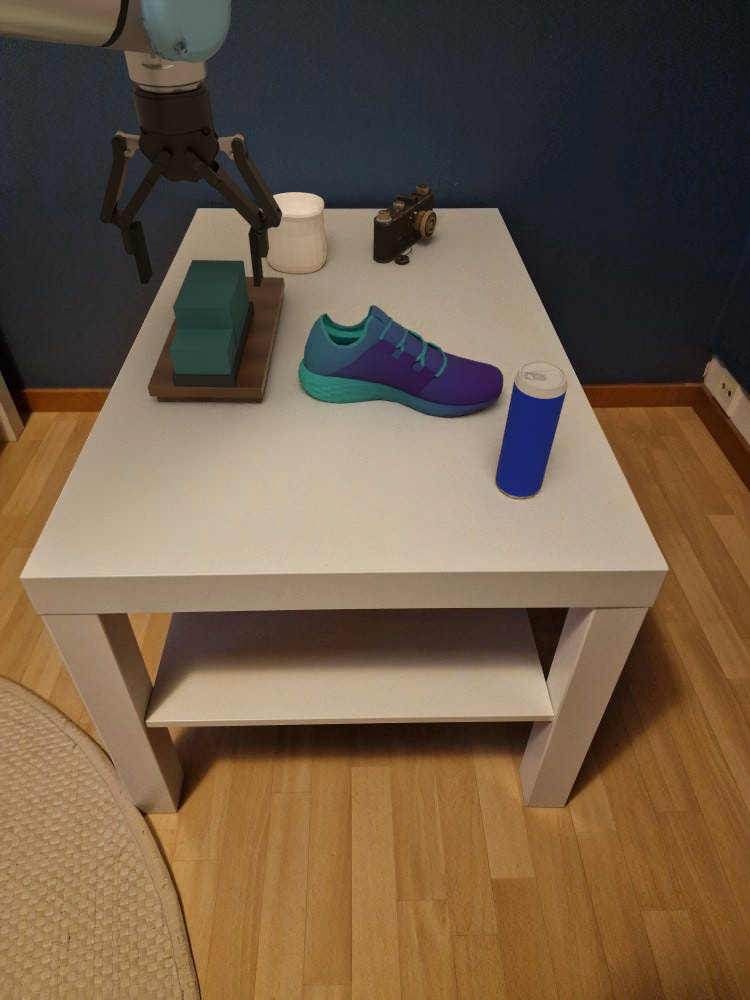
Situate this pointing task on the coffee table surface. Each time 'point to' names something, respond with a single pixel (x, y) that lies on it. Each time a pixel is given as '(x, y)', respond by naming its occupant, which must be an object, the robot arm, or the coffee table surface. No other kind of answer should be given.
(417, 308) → the coffee table surface
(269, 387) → the coffee table surface
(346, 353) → the sneaker
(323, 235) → the cup
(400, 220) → the camera
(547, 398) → the beverage can
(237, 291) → the teal stepped block
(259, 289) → the brown wooden board
